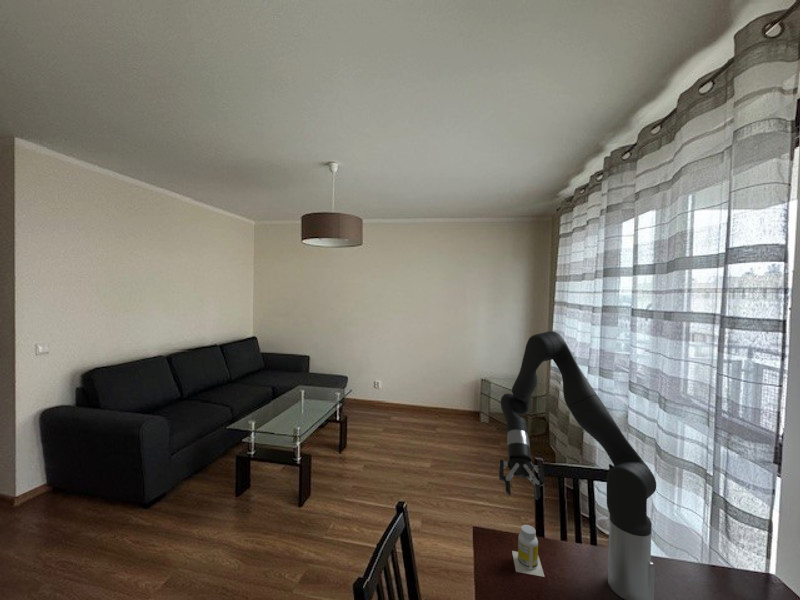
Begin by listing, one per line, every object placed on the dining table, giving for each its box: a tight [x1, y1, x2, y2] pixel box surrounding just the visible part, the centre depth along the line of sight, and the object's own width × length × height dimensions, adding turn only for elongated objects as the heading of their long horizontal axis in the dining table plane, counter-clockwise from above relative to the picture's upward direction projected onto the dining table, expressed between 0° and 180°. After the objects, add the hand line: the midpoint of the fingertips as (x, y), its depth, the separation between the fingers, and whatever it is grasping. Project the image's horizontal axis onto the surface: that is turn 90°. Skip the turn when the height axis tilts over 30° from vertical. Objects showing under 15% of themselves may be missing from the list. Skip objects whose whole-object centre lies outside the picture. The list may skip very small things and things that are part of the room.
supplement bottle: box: [517, 524, 539, 570], centre depth 96 cm, size 5×5×10 cm
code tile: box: [511, 550, 546, 578], centre depth 96 cm, size 8×8×1 cm
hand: (523, 496), depth 105 cm, fingers open, 8 cm apart
